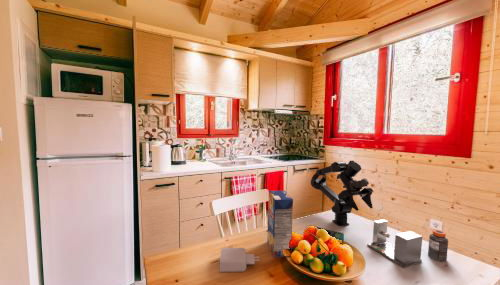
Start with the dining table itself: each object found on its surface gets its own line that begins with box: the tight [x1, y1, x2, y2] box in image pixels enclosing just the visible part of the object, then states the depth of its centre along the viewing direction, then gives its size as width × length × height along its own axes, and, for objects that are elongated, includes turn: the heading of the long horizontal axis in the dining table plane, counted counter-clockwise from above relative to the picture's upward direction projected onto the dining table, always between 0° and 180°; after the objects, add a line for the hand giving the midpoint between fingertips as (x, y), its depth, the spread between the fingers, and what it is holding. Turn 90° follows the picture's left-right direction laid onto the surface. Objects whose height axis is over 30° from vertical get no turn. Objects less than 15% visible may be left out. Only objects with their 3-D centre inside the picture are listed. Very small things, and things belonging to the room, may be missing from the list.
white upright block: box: [370, 219, 391, 245], centre depth 96 cm, size 5×8×10 cm, turn 111°
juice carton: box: [266, 190, 294, 258], centre depth 94 cm, size 12×8×24 cm, turn 7°
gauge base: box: [367, 230, 423, 269], centre depth 92 cm, size 16×11×11 cm
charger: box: [219, 247, 261, 273], centre depth 83 cm, size 5×9×15 cm
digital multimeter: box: [316, 226, 345, 242], centre depth 106 cm, size 7×15×3 cm, turn 61°
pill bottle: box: [427, 229, 449, 262], centre depth 90 cm, size 6×6×11 cm
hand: (364, 209), depth 106 cm, fingers open, 9 cm apart
